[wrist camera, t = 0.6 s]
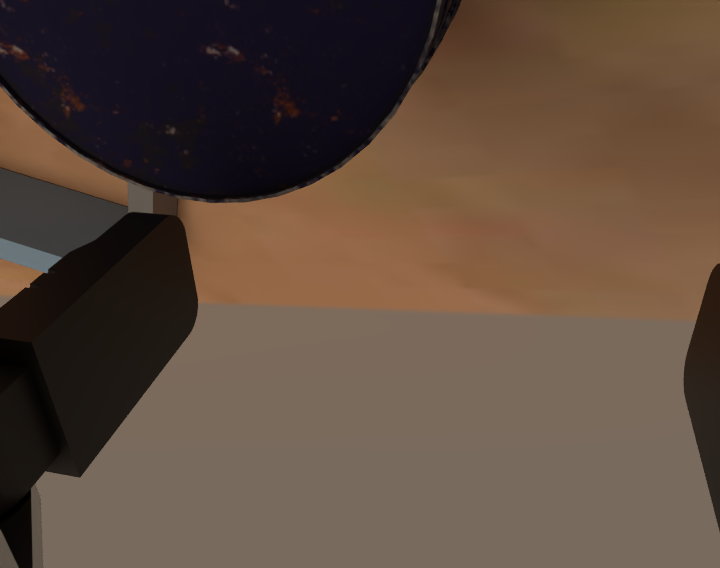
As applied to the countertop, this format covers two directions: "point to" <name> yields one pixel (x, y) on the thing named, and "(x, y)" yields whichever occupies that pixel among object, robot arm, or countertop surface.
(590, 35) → the countertop surface
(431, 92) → the countertop surface
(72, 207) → the channel organiser
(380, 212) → the countertop surface
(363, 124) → the storage jar
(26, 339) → the robot arm
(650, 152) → the countertop surface
